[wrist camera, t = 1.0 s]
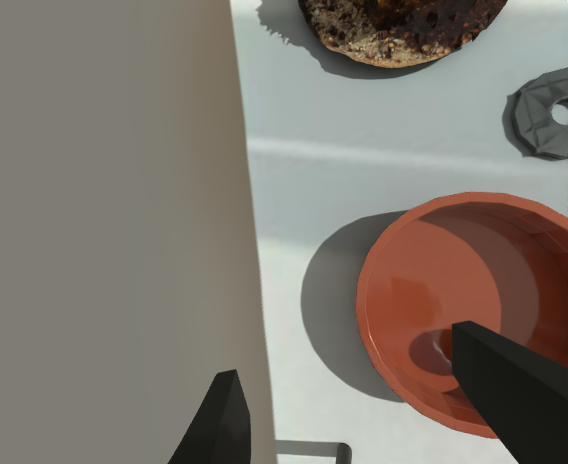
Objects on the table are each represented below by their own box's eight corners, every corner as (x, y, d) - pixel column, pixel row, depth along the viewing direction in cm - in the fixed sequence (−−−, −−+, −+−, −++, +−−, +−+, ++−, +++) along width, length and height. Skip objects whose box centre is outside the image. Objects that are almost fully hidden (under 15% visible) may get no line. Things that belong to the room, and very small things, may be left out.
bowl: (603, 399, 18) (670, 438, 14) (375, 406, 21) (378, 440, 17) (545, 186, 19) (590, 168, 15) (343, 223, 23) (338, 216, 19)
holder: (632, 145, 18) (639, 142, 18) (524, 167, 20) (528, 165, 19) (605, 60, 19) (611, 55, 19) (503, 87, 20) (506, 83, 20)
